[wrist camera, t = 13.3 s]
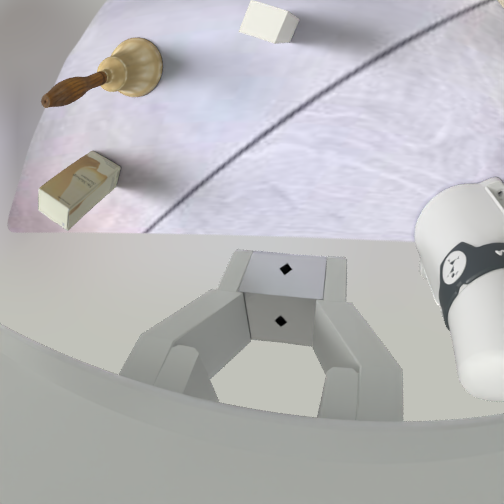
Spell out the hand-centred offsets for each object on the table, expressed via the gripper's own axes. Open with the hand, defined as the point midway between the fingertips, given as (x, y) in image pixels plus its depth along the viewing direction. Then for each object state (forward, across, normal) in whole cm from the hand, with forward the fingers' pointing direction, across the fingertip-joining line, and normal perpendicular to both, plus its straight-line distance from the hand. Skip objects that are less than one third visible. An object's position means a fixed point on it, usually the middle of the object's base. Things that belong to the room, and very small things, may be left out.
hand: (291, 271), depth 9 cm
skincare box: (+29, +33, +8) cm, 45 cm away
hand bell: (+29, +23, -6) cm, 37 cm away
